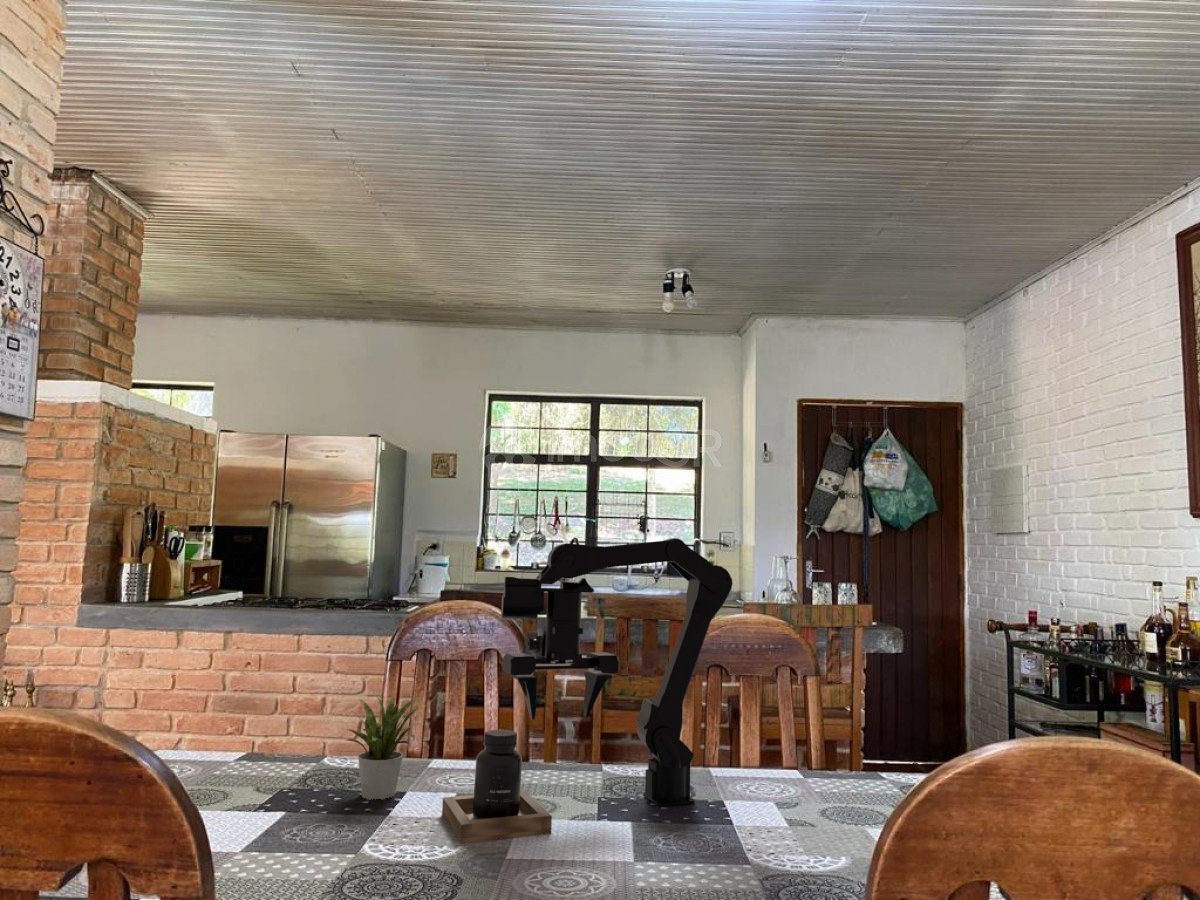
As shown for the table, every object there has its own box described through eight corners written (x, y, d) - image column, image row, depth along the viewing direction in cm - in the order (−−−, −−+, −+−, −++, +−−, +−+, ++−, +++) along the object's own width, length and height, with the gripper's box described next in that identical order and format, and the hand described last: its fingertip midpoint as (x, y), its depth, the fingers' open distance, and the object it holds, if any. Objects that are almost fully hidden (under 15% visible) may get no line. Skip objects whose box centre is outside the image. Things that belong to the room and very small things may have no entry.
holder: (524, 806, 125) (525, 790, 125) (551, 833, 113) (551, 815, 113) (442, 814, 120) (442, 797, 120) (460, 843, 108) (461, 824, 108)
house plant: (444, 786, 134) (449, 687, 137) (411, 811, 121) (417, 700, 123) (365, 780, 137) (372, 682, 139) (324, 803, 123) (332, 695, 126)
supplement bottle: (494, 828, 112) (498, 739, 113) (462, 817, 116) (467, 731, 118) (529, 817, 117) (532, 733, 118) (497, 807, 121) (501, 725, 123)
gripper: (597, 616, 142) (594, 707, 140) (495, 615, 135) (490, 711, 133) (622, 621, 132) (619, 719, 129) (514, 621, 125) (509, 724, 122)
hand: (559, 718), depth 129 cm, fingers open, 9 cm apart
